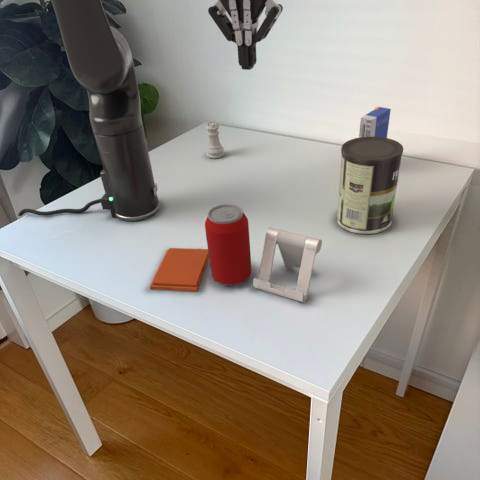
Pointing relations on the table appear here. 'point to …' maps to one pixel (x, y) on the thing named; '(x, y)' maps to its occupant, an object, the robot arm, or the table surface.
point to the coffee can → (368, 184)
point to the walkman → (375, 123)
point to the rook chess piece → (214, 141)
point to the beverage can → (228, 244)
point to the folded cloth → (181, 270)
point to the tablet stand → (288, 261)
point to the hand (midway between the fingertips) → (248, 68)
